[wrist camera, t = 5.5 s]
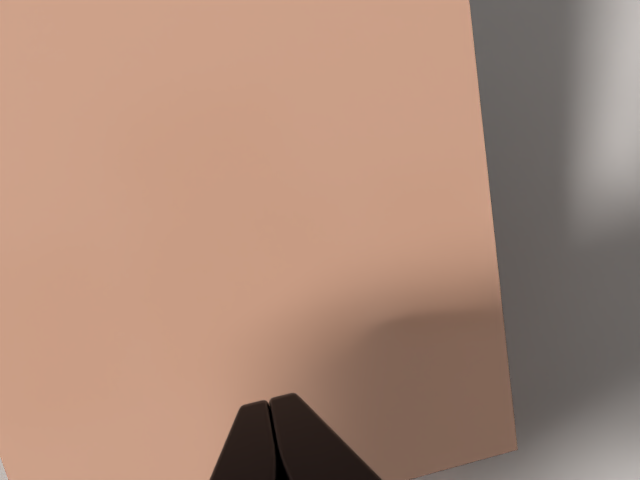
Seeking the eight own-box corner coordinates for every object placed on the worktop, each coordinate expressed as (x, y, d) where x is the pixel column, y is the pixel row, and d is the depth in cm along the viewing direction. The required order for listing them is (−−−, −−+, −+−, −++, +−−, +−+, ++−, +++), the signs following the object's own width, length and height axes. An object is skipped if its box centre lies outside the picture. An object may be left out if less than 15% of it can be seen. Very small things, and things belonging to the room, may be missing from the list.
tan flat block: (517, 449, 12) (450, -169, 10) (43, 580, 11) (-191, -93, 8) (446, 372, 16) (384, -85, 13) (89, 461, 15) (-60, -23, 12)
